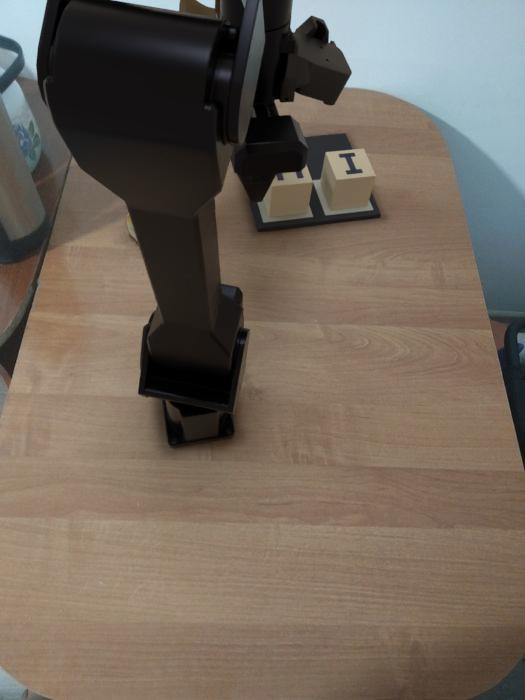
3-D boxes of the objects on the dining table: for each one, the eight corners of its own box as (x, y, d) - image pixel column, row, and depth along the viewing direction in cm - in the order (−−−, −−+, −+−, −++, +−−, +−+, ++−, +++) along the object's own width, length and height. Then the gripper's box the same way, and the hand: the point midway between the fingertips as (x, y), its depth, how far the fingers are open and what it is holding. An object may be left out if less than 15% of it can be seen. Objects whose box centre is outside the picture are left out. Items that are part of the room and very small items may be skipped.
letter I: (367, 206, 72) (376, 174, 67) (329, 210, 71) (336, 179, 66) (355, 179, 74) (364, 147, 70) (319, 183, 73) (325, 151, 69)
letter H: (307, 213, 70) (313, 181, 66) (269, 217, 69) (272, 185, 65) (298, 185, 73) (302, 153, 68) (260, 189, 72) (262, 157, 68)
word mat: (380, 217, 72) (381, 213, 71) (258, 231, 69) (258, 227, 68) (344, 136, 80) (345, 132, 79) (234, 146, 77) (234, 142, 76)
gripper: (386, 75, 41) (346, 227, 54) (323, -44, 51) (302, 110, 64) (237, 84, 39) (233, 239, 53) (201, -41, 49) (205, 116, 62)
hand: (248, 170), depth 58 cm, fingers open, 9 cm apart
